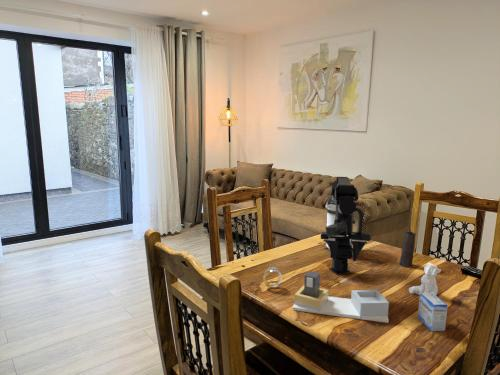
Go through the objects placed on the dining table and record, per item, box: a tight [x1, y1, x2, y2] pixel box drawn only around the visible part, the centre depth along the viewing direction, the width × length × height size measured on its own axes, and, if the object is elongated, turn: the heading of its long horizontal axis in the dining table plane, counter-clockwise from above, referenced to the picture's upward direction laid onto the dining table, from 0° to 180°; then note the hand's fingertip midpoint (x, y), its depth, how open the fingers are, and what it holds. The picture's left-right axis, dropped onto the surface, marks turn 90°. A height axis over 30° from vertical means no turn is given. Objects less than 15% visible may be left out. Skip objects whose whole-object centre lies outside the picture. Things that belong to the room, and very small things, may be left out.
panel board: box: [292, 296, 389, 324], centre depth 123 cm, size 30×11×1 cm, turn 75°
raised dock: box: [350, 289, 390, 320], centre depth 120 cm, size 9×9×6 cm
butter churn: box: [399, 201, 416, 268], centre depth 157 cm, size 9×10×28 cm
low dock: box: [293, 284, 330, 315], centre depth 125 cm, size 9×9×4 cm
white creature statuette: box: [408, 262, 442, 296], centre depth 131 cm, size 10×9×12 cm
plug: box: [303, 270, 321, 298], centre depth 124 cm, size 5×4×9 cm
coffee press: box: [322, 195, 364, 249], centre depth 176 cm, size 17×16×30 cm
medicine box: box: [417, 293, 448, 332], centre depth 112 cm, size 8×4×9 cm, turn 5°
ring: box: [262, 266, 283, 288], centre depth 137 cm, size 7×3×8 cm, turn 89°
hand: (344, 260), depth 133 cm, fingers open, 9 cm apart
